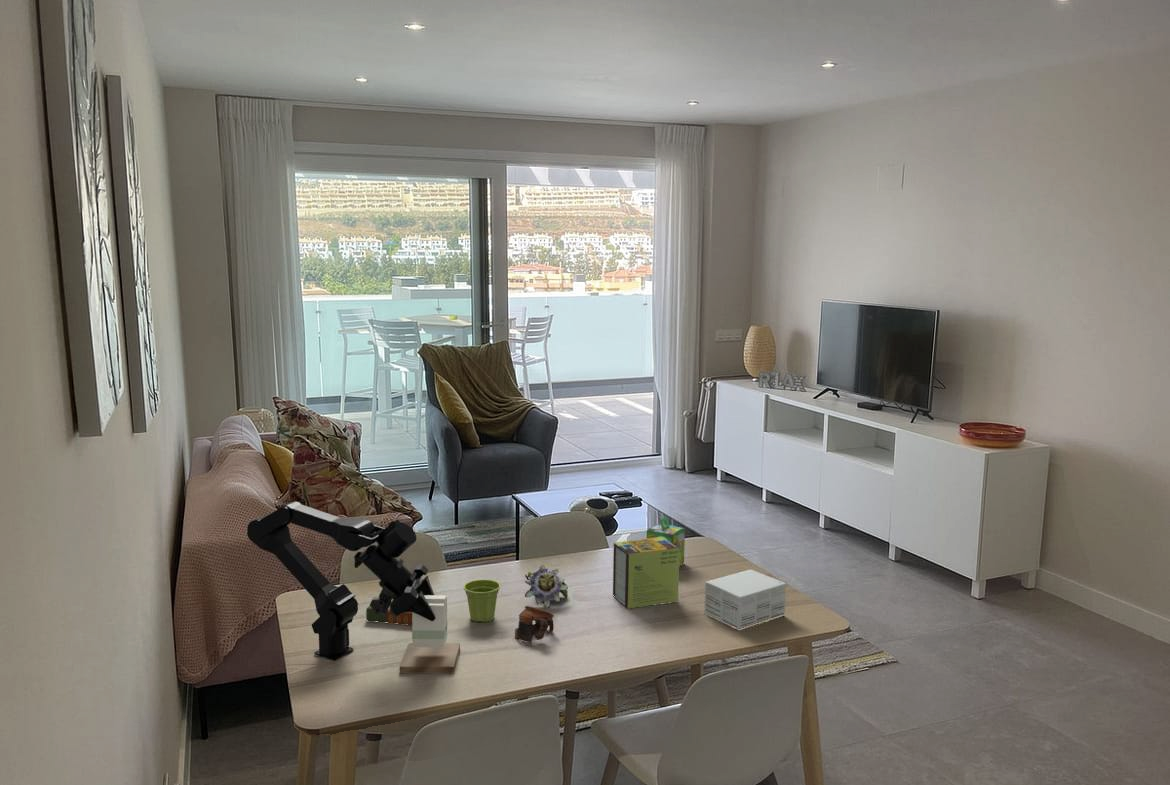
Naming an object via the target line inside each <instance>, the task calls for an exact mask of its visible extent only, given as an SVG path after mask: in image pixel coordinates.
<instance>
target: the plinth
mask: <svg viewBox="0 0 1170 785" xmlns="http://www.w3.org/2000/svg"><path fill="white" fill-rule="evenodd" d="M460 651H461V643H460V642H459V643H456V642H455V643H451V642H450V643H447V642H445V645H444V647H413V642H412V643H410V642H408V644H407V647H406V650H405V652H404V654H403V656H402V659H401V662H400V664H399V674H454V673H455V671H456V670H455V669H456V666H457V662H458V658H459V655H460Z"/></svg>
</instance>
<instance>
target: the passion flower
mask: <svg viewBox="0 0 1170 785" xmlns="http://www.w3.org/2000/svg"><path fill="white" fill-rule="evenodd" d="M558 574H559V568H555V569H553V570H548V568H547V567H546V565H545V564H543V563H542V564H541V565H540V567H539V568H538V570H536V572H530V571H528V573H527V574H524V577H525V578H526V580H524V582H525V584H527V585H528V586H530V588H529V589H528V590H527V591H526V592H525V593H524V598H531V597H533V596H534V599H535V600H534V601H535V603H536V605H537V606H539V605H540V604H543V606H544V608H545V607H546V608H548V607H549V606H550V603H551V600H554V601H555V602H557V603H560V599H561V597H560V594H562V596H563V598H564V599H565V600H566V598H569V597H568V595H569V594H568V593H569V592H568V589H569V587H568V584H566V583H565V580H566V579H565V577H559V575H558Z"/></svg>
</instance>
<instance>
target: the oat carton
mask: <svg viewBox="0 0 1170 785" xmlns="http://www.w3.org/2000/svg"><path fill="white" fill-rule="evenodd" d="M424 597H425V598H426V600H427V602H428V604H429V606H430V608H431V609H432V611H433V613H434V615H435V617H436V619H435V620H434V621H430V620H428V619H426V618H424V617H422V616H420V615H418V614H416V613H413V612H412V625H411V628H412V629H411V632H412V633H411V638H412V643H413V647H444V645H445V643H447V638H448V595H440V594H438V595H437V594H436V595H435V594H434V595H424Z"/></svg>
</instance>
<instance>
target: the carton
mask: <svg viewBox="0 0 1170 785" xmlns="http://www.w3.org/2000/svg"><path fill="white" fill-rule="evenodd" d="M392 601H393V599H392V600H391V603H392ZM390 605H391V604H390ZM365 610H366V611H365V614H366V616H365V617H366V621H367V620H368V621H378V622H388V623H387V624H389V623H398V624H397V625H401V624H408V625H407V626H412V612H404V613H401V614H400V615H398V616H397V617H395V616H394V615H393V614H392V613H391V612H390V606H389V609H388V610H387V612H386V614H383V613H378V614H376V613H375V611H373V610H372V607H371V606H370V605H369V606H367V607H366V609H365Z"/></svg>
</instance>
